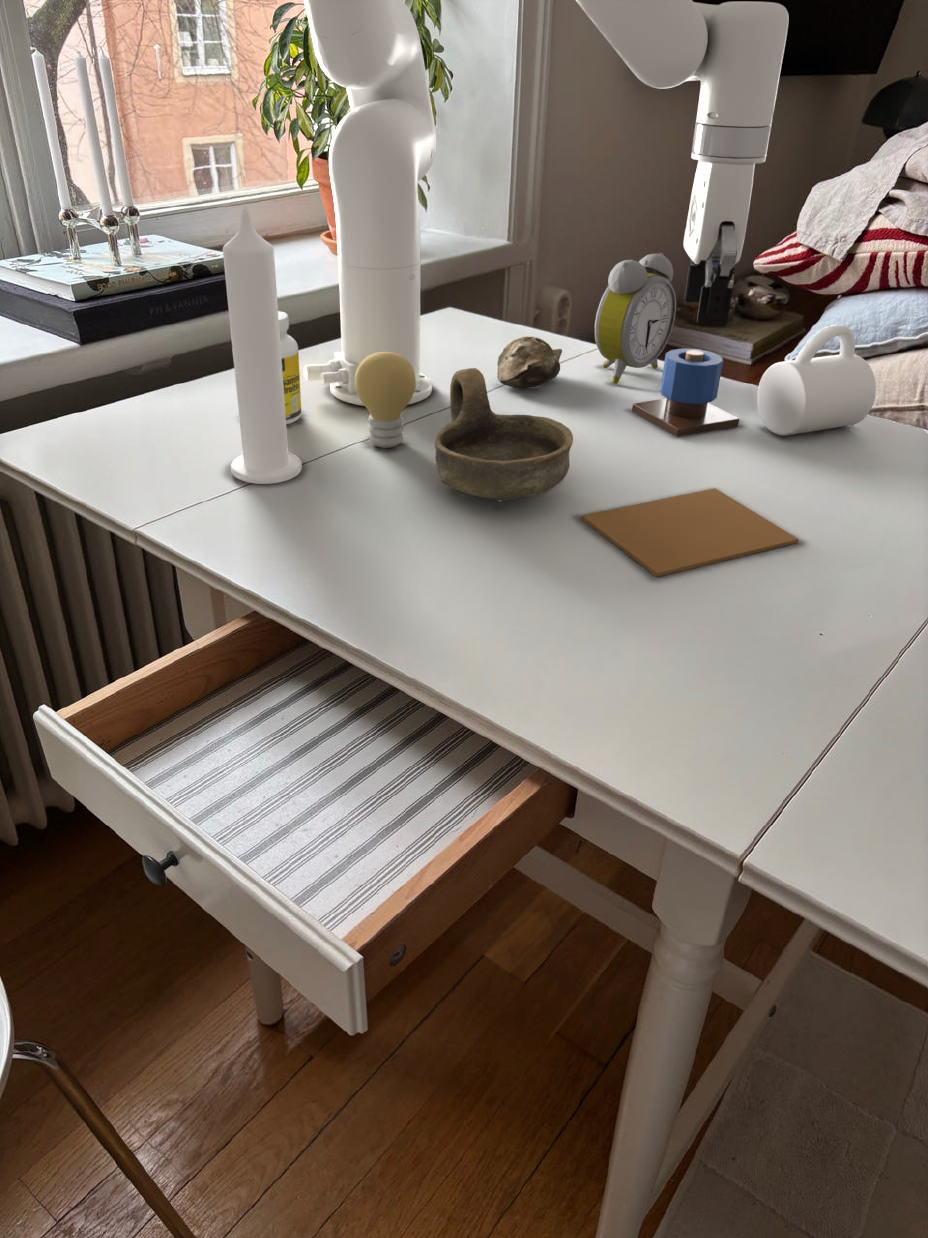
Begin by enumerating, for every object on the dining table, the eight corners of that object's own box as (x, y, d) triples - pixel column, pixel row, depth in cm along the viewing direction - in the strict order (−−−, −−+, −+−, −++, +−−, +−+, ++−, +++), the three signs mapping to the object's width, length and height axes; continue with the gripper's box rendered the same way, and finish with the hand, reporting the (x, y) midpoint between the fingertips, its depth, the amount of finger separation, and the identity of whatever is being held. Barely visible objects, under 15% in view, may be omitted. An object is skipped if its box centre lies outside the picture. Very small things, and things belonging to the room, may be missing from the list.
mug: (750, 421, 114) (770, 319, 108) (817, 411, 118) (840, 312, 112) (797, 446, 108) (821, 340, 102) (866, 435, 112) (894, 331, 105)
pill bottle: (249, 430, 107) (239, 325, 100) (241, 410, 112) (231, 309, 106) (307, 425, 108) (301, 321, 102) (296, 405, 114) (290, 306, 107)
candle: (308, 459, 100) (294, 202, 87) (292, 486, 94) (273, 216, 81) (243, 454, 101) (218, 198, 88) (222, 481, 95) (192, 211, 82)
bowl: (468, 532, 87) (472, 429, 82) (399, 461, 101) (399, 368, 95) (597, 510, 92) (609, 410, 87) (516, 444, 106) (522, 355, 100)
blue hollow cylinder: (683, 406, 109) (689, 367, 107) (649, 389, 114) (655, 351, 111) (727, 399, 112) (734, 361, 109) (692, 382, 116) (699, 346, 114)
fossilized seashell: (531, 382, 116) (582, 378, 123) (519, 328, 116) (570, 327, 123) (488, 399, 122) (539, 395, 129) (476, 348, 121) (527, 347, 128)
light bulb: (425, 439, 106) (426, 349, 101) (398, 459, 101) (397, 366, 96) (375, 428, 108) (373, 340, 103) (345, 447, 103) (342, 356, 98)
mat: (656, 577, 82) (657, 573, 82) (581, 518, 91) (581, 515, 90) (798, 542, 88) (799, 539, 88) (714, 491, 97) (715, 487, 97)
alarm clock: (619, 389, 123) (635, 267, 115) (577, 376, 126) (589, 257, 118) (669, 370, 130) (686, 254, 122) (627, 358, 134) (641, 245, 126)
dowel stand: (676, 437, 109) (687, 368, 105) (631, 411, 116) (640, 345, 112) (738, 426, 113) (751, 359, 108) (690, 401, 119) (701, 337, 115)
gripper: (682, 134, 106) (662, 292, 115) (706, 153, 91) (681, 333, 100) (750, 135, 106) (725, 295, 115) (785, 155, 91) (753, 335, 100)
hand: (704, 312), depth 108 cm, fingers open, 9 cm apart
